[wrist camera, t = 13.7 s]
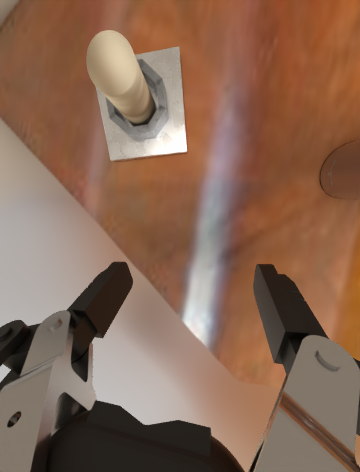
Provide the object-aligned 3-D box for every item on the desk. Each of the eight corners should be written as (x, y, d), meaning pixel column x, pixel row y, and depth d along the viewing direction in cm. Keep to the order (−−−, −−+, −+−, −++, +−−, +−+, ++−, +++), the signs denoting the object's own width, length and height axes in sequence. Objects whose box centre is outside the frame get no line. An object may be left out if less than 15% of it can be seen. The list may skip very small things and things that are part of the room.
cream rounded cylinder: (144, 84, 24) (112, 15, 15) (163, 116, 25) (144, 70, 16) (120, 107, 26) (76, 56, 16) (139, 136, 26) (108, 105, 17)
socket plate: (179, 54, 24) (177, 25, 20) (187, 153, 28) (186, 146, 24) (96, 70, 26) (77, 46, 21) (114, 161, 29) (101, 157, 25)
